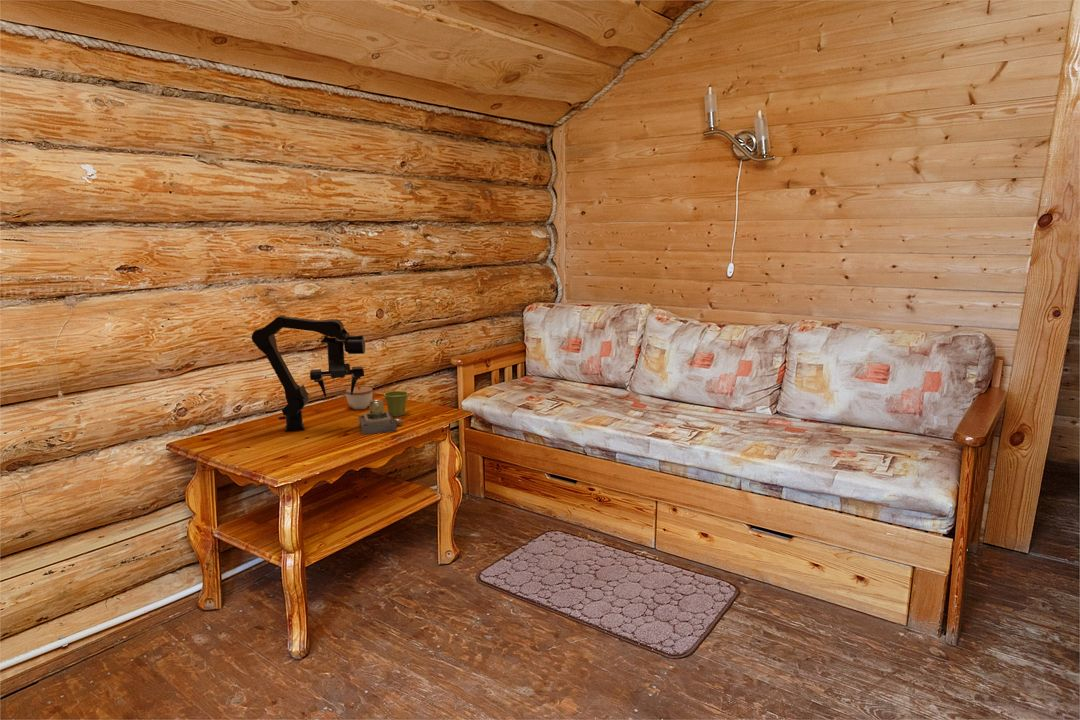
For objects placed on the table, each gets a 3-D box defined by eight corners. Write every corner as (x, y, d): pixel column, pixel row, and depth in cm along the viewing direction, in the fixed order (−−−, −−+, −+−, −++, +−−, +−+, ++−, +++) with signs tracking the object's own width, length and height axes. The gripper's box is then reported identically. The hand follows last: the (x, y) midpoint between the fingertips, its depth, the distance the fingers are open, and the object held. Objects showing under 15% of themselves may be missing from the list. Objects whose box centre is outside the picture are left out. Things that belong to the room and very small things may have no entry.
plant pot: (385, 412, 259) (384, 391, 257) (409, 410, 261) (408, 390, 259) (384, 418, 250) (383, 397, 248) (409, 417, 252) (408, 395, 250)
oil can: (369, 418, 239) (368, 398, 238) (383, 417, 241) (382, 397, 239) (370, 423, 233) (370, 403, 231) (385, 422, 234) (384, 402, 233)
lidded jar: (348, 404, 270) (346, 383, 268) (374, 403, 272) (373, 382, 270) (345, 411, 260) (343, 389, 258) (372, 410, 261) (371, 388, 260)
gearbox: (359, 423, 243) (358, 412, 242) (399, 420, 248) (399, 408, 247) (362, 434, 230) (361, 422, 229) (404, 430, 235) (404, 418, 234)
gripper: (308, 360, 223) (311, 403, 226) (364, 356, 229) (366, 398, 232) (308, 354, 233) (311, 396, 236) (361, 351, 239) (364, 391, 242)
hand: (338, 395), depth 236 cm, fingers open, 9 cm apart
